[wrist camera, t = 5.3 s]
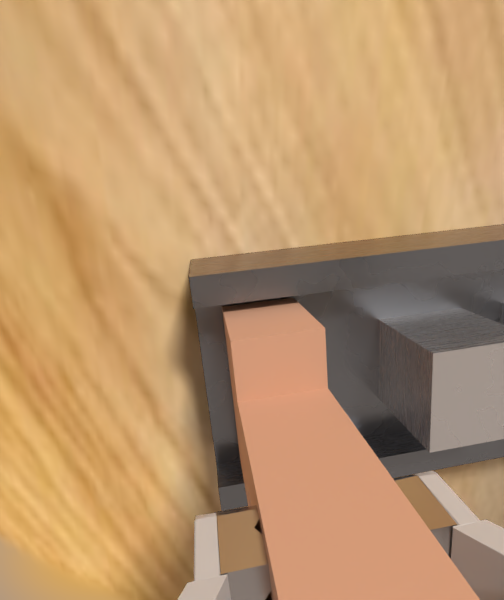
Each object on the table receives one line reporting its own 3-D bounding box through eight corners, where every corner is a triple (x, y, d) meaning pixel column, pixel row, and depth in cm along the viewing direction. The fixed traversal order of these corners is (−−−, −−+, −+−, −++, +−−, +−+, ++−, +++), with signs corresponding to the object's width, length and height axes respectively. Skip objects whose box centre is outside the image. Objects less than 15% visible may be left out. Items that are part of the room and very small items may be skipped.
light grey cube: (460, 308, 17) (537, 337, 13) (456, 386, 18) (526, 434, 14) (378, 319, 17) (433, 353, 13) (379, 399, 18) (429, 452, 14)
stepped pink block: (293, 297, 16) (499, 493, 5) (303, 446, 17) (468, 818, 7) (221, 306, 15) (279, 537, 5) (239, 457, 17) (309, 866, 6)
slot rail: (562, 217, 20) (662, 221, 16) (541, 390, 23) (622, 433, 18) (190, 259, 18) (188, 277, 13) (216, 446, 20) (221, 510, 16)
